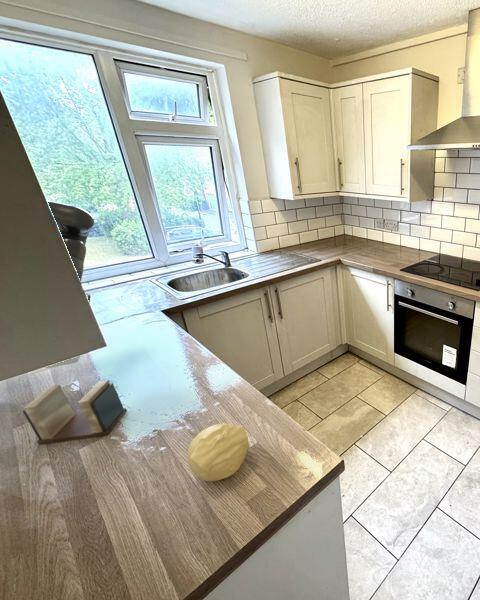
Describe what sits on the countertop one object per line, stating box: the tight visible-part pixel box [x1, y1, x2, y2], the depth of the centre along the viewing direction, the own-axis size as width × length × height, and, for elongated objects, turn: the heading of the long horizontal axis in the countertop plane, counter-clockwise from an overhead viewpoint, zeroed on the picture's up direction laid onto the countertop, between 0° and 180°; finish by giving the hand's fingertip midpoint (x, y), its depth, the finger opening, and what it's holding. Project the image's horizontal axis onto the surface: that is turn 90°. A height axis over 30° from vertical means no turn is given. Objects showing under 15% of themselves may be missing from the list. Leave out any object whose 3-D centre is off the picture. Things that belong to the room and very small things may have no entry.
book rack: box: [22, 379, 128, 445], centre depth 84 cm, size 15×9×11 cm, turn 101°
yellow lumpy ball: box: [187, 423, 250, 482], centre depth 73 cm, size 11×12×11 cm
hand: (49, 331), depth 84 cm, fingers closed on small box, 7 cm apart
